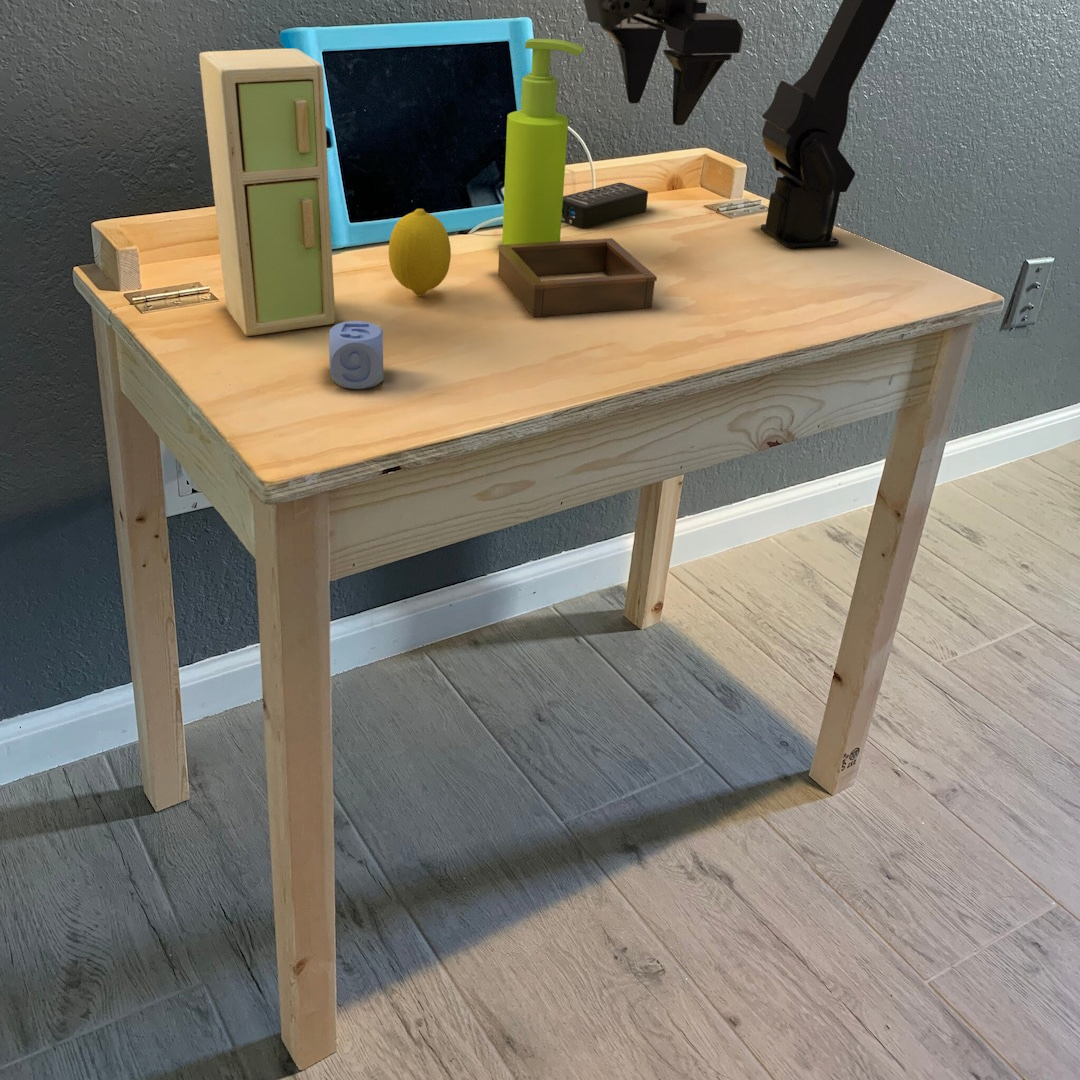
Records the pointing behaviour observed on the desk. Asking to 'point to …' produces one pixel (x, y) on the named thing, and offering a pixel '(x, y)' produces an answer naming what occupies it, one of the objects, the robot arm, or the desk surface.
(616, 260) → the brown wooden tray
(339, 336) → the decorative dice
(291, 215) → the toy refrigerator
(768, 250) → the desk surface
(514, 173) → the soap dispenser
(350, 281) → the desk surface
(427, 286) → the lemon
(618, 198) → the multiport hub
